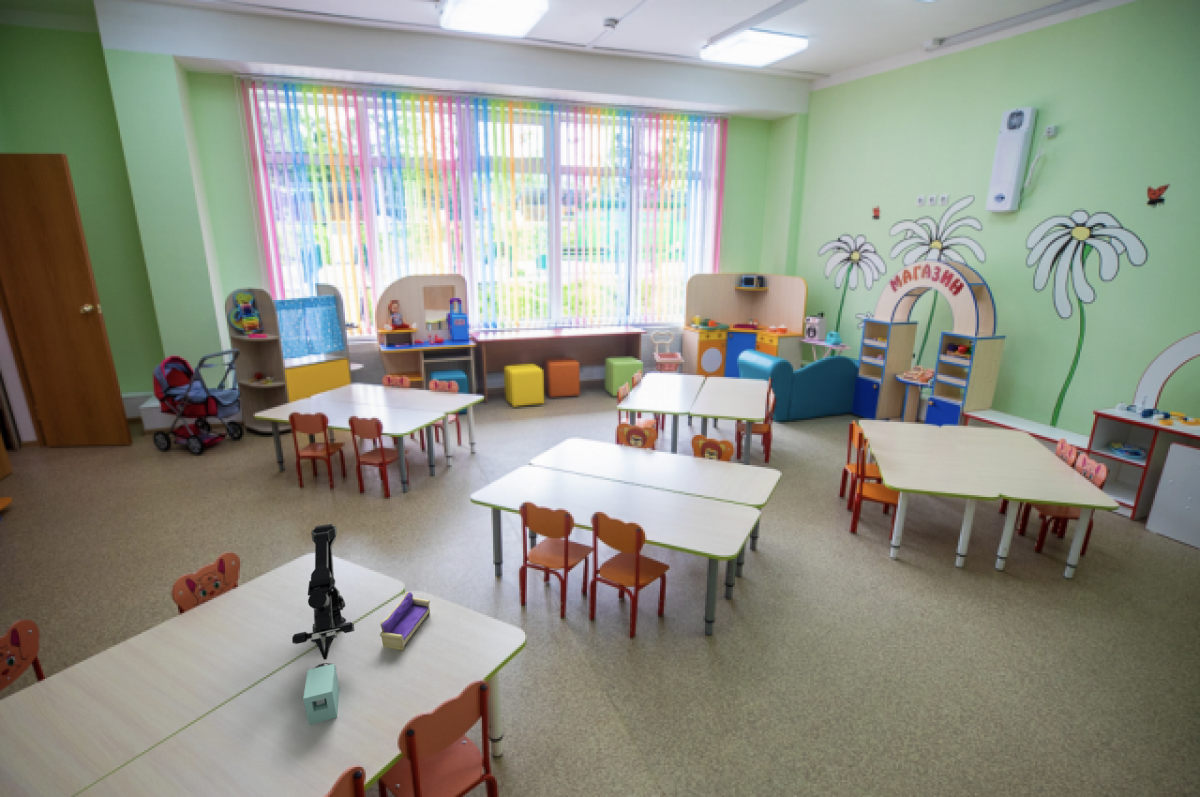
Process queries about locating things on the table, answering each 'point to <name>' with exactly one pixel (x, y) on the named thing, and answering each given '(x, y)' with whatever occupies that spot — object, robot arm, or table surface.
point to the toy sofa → (403, 621)
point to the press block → (321, 694)
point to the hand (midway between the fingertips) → (325, 659)
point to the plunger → (325, 698)
